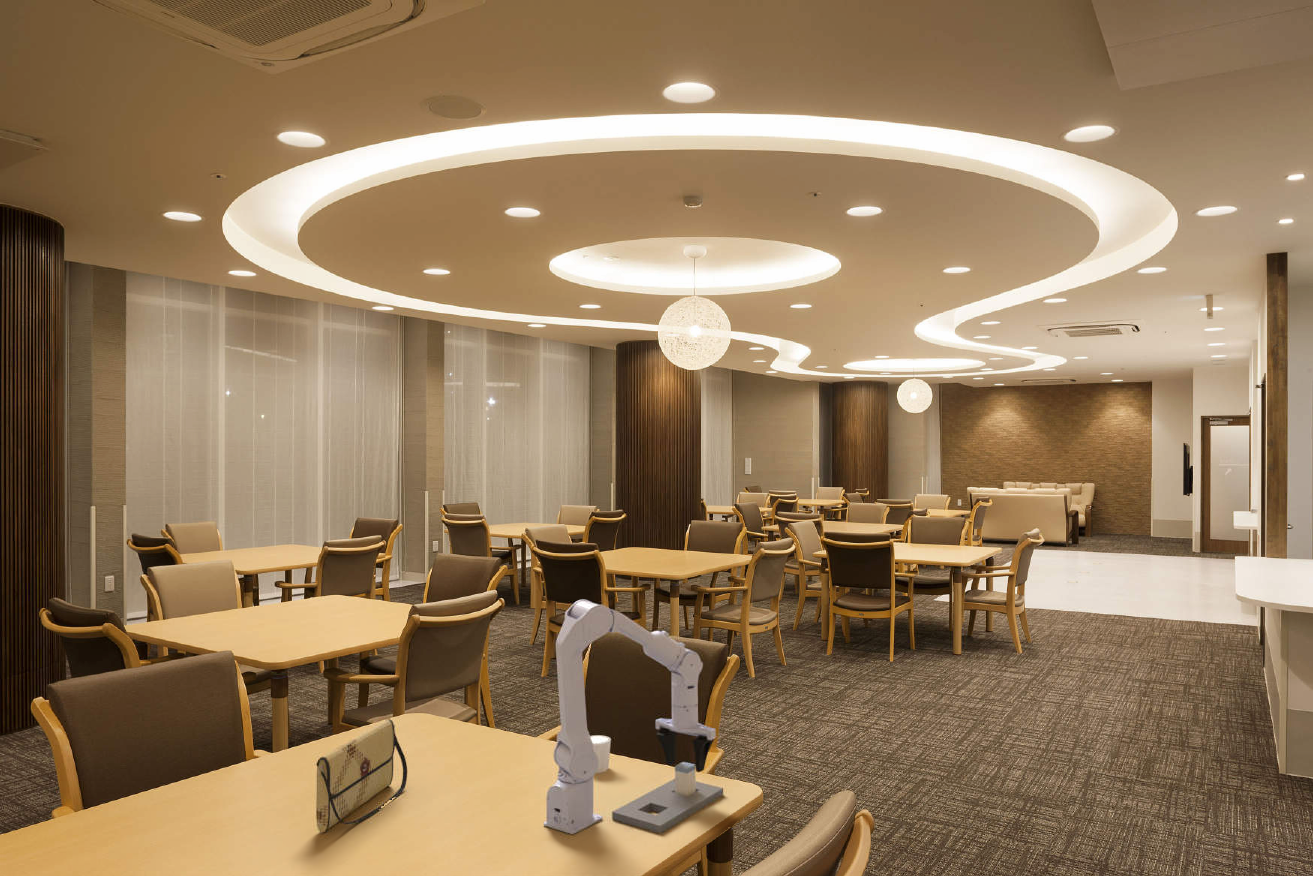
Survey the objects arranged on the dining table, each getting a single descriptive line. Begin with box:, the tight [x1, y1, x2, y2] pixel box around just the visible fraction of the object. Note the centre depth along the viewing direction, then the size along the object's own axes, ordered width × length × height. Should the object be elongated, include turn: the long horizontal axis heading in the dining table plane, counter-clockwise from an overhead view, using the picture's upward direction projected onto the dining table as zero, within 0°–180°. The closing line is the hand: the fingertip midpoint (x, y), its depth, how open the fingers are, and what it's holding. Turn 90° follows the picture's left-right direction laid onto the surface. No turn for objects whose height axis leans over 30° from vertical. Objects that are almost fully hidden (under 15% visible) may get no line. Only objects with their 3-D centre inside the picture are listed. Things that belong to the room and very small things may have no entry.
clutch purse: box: [315, 718, 408, 834], centre depth 177 cm, size 30×7×15 cm, turn 169°
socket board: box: [611, 778, 724, 834], centre depth 177 cm, size 24×12×2 cm, turn 144°
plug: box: [674, 761, 696, 796], centre depth 182 cm, size 3×3×7 cm
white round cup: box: [590, 734, 612, 774], centre depth 200 cm, size 7×7×7 cm
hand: (685, 767), depth 182 cm, fingers open, 7 cm apart
